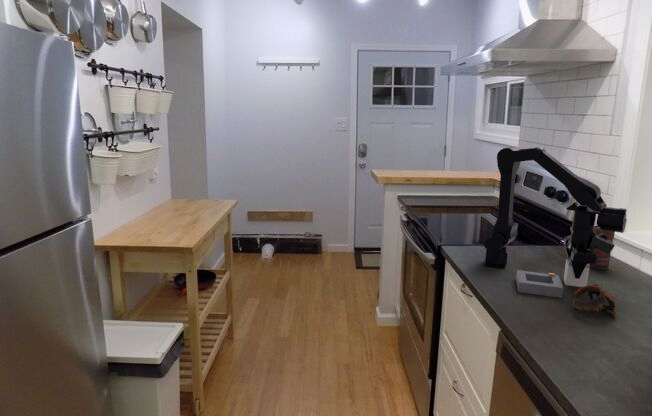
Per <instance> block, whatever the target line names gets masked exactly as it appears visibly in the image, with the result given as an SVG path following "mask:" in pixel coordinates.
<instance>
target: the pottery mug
mask: <svg viewBox="0 0 652 416" xmlns="http://www.w3.org/2000/svg"><path fill="white" fill-rule="evenodd" d="M584 293H586V294H587V296H588V297H589V299H588V300H581V299H579V298H578V297H579V296H580V295H582V294H584ZM573 294H574V297H573V301H572V306H573V307H572V308H573V310H579V311H595V312H597V313H599V311H600V310H599V308H600V307H599V305H601V307H602V310H604V311H609V312H611V313H612V314H613V318H614V319H616V318H617V308H616V304H615V301H614V300H613V299H614V298H613V296H611V295H610V294H609V293H608V292H607V291H605V290H603V288H602V287H600V286H599V285H598V284H595V283H594V284H591V285H587V286H584V287H579V288H578V289H577V290H576V291H575V292H574V293H573Z"/></svg>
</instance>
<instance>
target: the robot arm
mask: <svg viewBox="0 0 652 416" xmlns="http://www.w3.org/2000/svg"><path fill="white" fill-rule="evenodd" d="M528 161H534V162H536V163H537V164H538V166H540V167H542V169H544V170H545V171H546V172H548V173H549V174H550V175H551V176H553V177H554V178H555V179H556V180H557V181H559V182H560V184H562V185H563V186H564V187H565V188H566V190H567V191H568V193H569V195H571V197H572V198H573V199H574V200H575V201H574V202H573V203H572V204H570V205H569V206H568V207H567V208H566V210H568V211H573V217H572V224H571V226H570V228H569V230H570V232H571V233H570V235H567V236H565V237H564V238H563V242H562V243H563V245H564V246H565V247H564V248H565V252H566V254H567V259H570V260H571V264H572V268H573V272H574V276H575V278H576V279H579V278H580V277H581V275H582V273H583V270H584V269H585V267H586V265H587V264H589V263H591V264H597V262H598V256H597V255H596V254H595V253H594V251H593V250H594V248H596V249H598V250H600V251H603V252H605V253H606V254H608V255H609V254H610V253H611V254H612V251H613V250H614V248H615V246H616V244H614V242H613V243H612V242H611V241H610V240H607V235H605V234H603V233H601V234H599V235H596V233H595V232H594V226H598V227H600V229H602V230H608V231H614V232H615V233H622V234H624V232H625V229H626V225H627V222H628V221H627V210H628V209H627V208H621V207H618V208H616V207H609V206H607V204H606V202H605V201H604V199H603V198H602V196H601V193H602V190H601V188H600V187H599V186H598V185H597V184H595V183H593V182H591V181H589V180H588V179H585V178H582V177H581V176H578V175H577V174H575V173H574V172H572V170H570V169H569V168H568V167H566V166H565V165H564V164H562V162H560V160H558V159H556V158H555V157H554V156H553V155H552V154H550V153H549V152H548V151H547V150H546V149H545V148H544V147H542V146H538V147H530V148H518V147H516V146H509V147H503V148H502V149H500V150H499V151H498V152H497V154H496V163H497V168H498V171H499V175H500V180H499V193H498V197H499V198H498V209H497V210H498V211H497V217H496V220H495V223H494V225H493V227H492V232H491V236H490V237H489V238H488V239H485V240H484V241H483V247H484V249H485V258H484V262H483V263H484V264H483V265H484V267H489V268H490V267H491V268H492V267H493V268H499V269H505V268H506V265H508V264H507V263H508V255H509V254H508V251H507V246H509V244H510V243H511V242H513V241H514V240H515V239H516V237H517V236H518V227H519V223H518V222H515V221H514V219H513V214H514V213H513V212H514V198H515V186H516V185H515V184H516V176H517V172H518V170H519V168H520V167H521V163H522V162H528ZM595 224H596V225H595ZM567 246H568V247H567Z"/></svg>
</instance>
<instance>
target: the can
mask: <svg viewBox="0 0 652 416" xmlns="http://www.w3.org/2000/svg"><path fill="white" fill-rule="evenodd" d="M594 232H595V233H596V235H599V234H601V233H603V234H605V235H607V240H610V241H611V242H612V243H613V244H614V238H615V236H616V235H615V233H616V232H614V231H608V230H602V229H600V227H598V225H595V226H594ZM593 251H594V253H595V254H596V255H597V256H598V262H597V264H591V263H589V265H590V268H589V269H593V270H597V271H598V270H599V271H606V270H608V269H609V267H610V261H611V255H612V252H611V253H610V254H609V255H608V254H606V253H605V252H603V251H600V250H598V249H596V248H594V250H593Z"/></svg>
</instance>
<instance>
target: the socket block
mask: <svg viewBox="0 0 652 416" xmlns="http://www.w3.org/2000/svg"><path fill="white" fill-rule="evenodd" d="M515 277H516V278H515V281H516V287H517V288H516V289H517V292H518V293H522V294H523V293H525V294H532V295H538V296H546V297H552V298H554V297H555V298H559V299H562V298H563V297H564V296H563V295H564V290H565V289H564V285H563V283H562V281H561V278H560V275H558V274H556V273H553V272H548V273H545V272H543V273H542V272H536V271H526V270H521V269H520V270H518V269H516V276H515Z"/></svg>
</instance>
